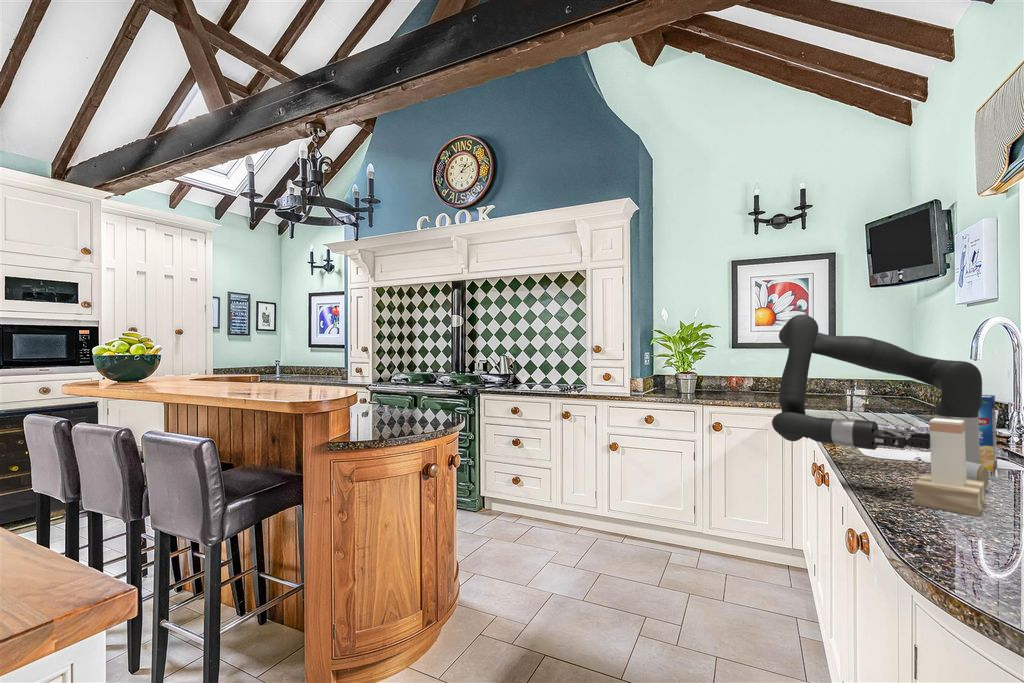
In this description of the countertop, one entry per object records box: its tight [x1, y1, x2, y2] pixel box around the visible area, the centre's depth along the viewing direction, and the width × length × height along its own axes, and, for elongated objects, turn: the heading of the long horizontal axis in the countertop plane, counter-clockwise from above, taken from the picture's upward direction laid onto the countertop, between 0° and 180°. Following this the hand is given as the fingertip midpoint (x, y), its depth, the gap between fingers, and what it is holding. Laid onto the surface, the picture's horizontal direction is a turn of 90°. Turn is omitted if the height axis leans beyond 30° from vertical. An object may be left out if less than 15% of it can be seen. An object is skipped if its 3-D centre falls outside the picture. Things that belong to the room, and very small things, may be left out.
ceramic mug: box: [966, 461, 989, 490], centre depth 126 cm, size 11×8×8 cm
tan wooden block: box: [912, 472, 987, 517], centre depth 114 cm, size 14×11×5 cm
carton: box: [928, 417, 967, 487], centre depth 115 cm, size 6×6×15 cm
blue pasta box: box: [978, 394, 998, 472], centre depth 148 cm, size 7×11×22 cm, turn 39°
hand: (933, 441), depth 117 cm, fingers open, 8 cm apart
